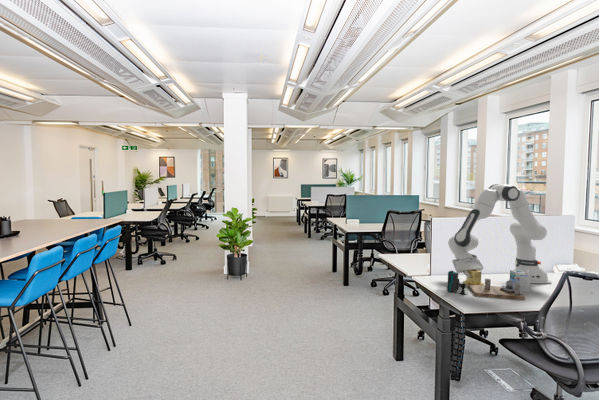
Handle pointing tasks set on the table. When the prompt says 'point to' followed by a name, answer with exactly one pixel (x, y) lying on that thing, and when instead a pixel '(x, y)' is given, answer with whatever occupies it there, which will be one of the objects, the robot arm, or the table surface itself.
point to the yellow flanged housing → (474, 278)
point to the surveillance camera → (454, 283)
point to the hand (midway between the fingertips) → (474, 277)
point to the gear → (508, 287)
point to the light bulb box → (520, 279)
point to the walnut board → (495, 291)
